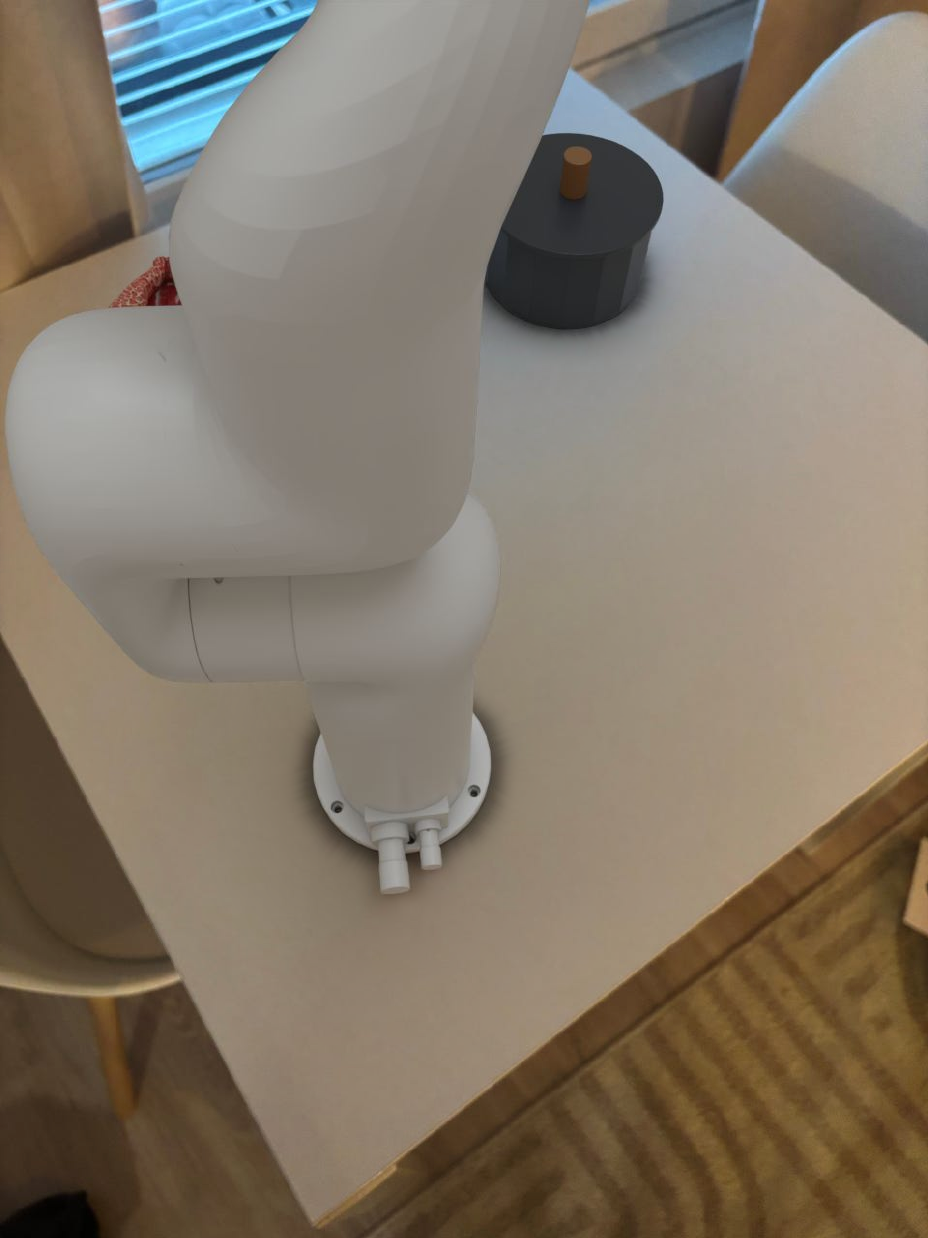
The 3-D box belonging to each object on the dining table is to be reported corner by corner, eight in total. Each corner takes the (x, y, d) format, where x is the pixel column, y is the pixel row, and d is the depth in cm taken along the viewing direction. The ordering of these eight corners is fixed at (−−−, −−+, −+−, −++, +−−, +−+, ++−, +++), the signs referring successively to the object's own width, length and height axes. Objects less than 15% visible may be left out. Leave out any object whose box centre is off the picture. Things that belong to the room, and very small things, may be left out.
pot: (654, 322, 88) (674, 248, 81) (496, 335, 87) (500, 261, 80) (622, 213, 95) (637, 135, 88) (475, 224, 94) (477, 146, 87)
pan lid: (679, 257, 81) (691, 212, 77) (495, 271, 80) (498, 226, 76) (640, 137, 88) (649, 90, 84) (471, 149, 87) (472, 102, 83)
